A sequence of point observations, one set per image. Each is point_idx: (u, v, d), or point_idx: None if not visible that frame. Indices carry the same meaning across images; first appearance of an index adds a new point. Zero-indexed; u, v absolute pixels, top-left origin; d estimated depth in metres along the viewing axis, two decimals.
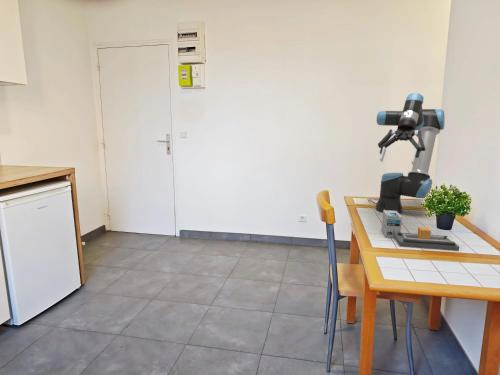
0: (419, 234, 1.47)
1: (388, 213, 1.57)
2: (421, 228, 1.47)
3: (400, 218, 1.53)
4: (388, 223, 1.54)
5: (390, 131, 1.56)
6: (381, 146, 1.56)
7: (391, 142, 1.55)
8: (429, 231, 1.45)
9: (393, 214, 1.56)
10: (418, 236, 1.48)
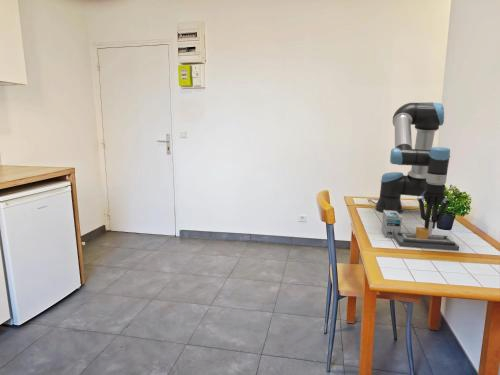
0: (417, 234, 1.47)
1: (388, 213, 1.57)
2: (419, 228, 1.47)
3: (400, 218, 1.53)
4: (388, 223, 1.54)
5: (421, 201, 1.43)
6: (427, 221, 1.45)
7: None
8: (427, 231, 1.45)
9: (393, 214, 1.56)
10: (416, 236, 1.48)
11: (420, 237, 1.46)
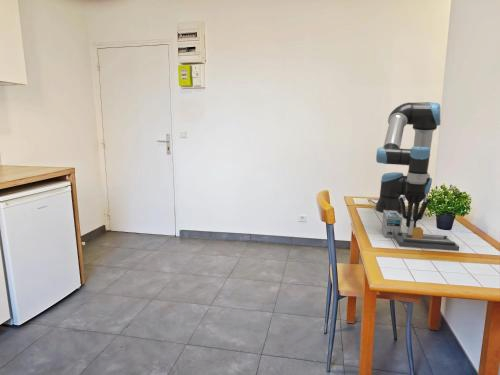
0: None
1: (388, 213, 1.57)
2: (414, 227, 1.48)
3: (400, 218, 1.53)
4: (388, 223, 1.54)
5: (402, 200, 1.45)
6: (408, 220, 1.47)
7: None
8: (421, 230, 1.45)
9: (393, 214, 1.56)
10: (411, 235, 1.49)
11: (414, 237, 1.46)
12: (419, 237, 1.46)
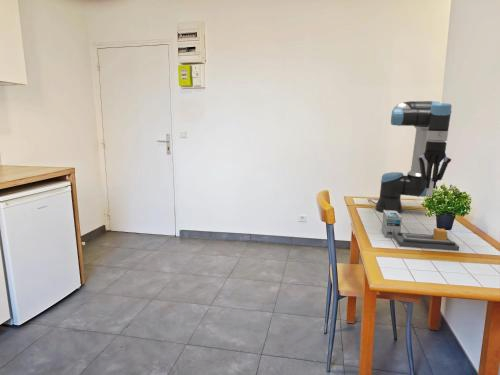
0: (435, 235, 1.46)
1: (388, 213, 1.57)
2: (437, 229, 1.46)
3: (400, 218, 1.53)
4: (388, 223, 1.54)
5: (421, 159, 1.40)
6: (427, 180, 1.42)
7: None
8: (445, 232, 1.44)
9: (393, 214, 1.56)
10: (434, 237, 1.47)
11: (438, 238, 1.45)
12: (443, 239, 1.44)
